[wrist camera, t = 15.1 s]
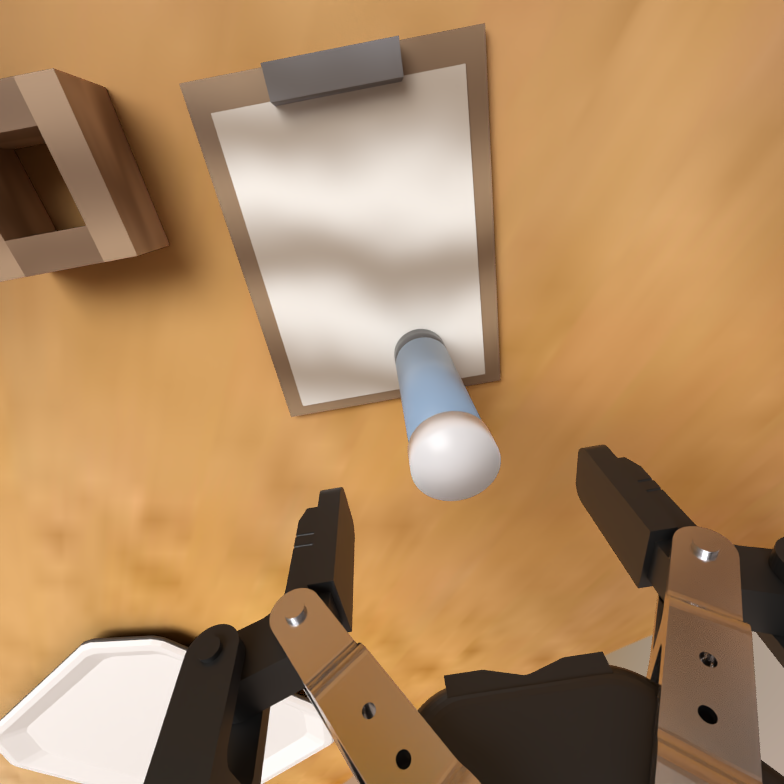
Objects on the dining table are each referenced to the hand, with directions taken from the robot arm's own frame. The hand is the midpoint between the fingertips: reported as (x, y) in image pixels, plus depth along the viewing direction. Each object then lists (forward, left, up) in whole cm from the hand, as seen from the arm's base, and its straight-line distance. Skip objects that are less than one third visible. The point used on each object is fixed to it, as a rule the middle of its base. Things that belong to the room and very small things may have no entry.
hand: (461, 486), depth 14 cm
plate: (+39, -32, -14) cm, 52 cm away
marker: (0, 0, -13) cm, 13 cm away
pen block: (-12, -16, -13) cm, 24 cm away
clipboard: (-6, -2, -13) cm, 15 cm away
